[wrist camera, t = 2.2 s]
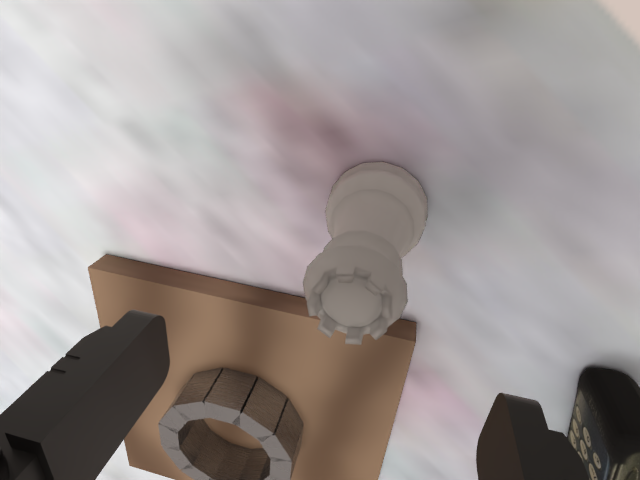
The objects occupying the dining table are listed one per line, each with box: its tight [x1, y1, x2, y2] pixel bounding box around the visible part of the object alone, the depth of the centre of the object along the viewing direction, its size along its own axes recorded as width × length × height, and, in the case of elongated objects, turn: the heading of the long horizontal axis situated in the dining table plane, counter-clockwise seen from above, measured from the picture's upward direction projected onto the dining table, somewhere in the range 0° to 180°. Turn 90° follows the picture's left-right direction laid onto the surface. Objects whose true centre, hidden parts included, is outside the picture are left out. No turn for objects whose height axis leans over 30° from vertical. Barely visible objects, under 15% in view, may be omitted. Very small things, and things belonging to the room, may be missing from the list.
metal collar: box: [158, 367, 304, 480], centre depth 25 cm, size 8×8×2 cm
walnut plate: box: [88, 254, 416, 480], centre depth 26 cm, size 18×18×2 cm
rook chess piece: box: [303, 162, 427, 345], centre depth 15 cm, size 4×4×8 cm
